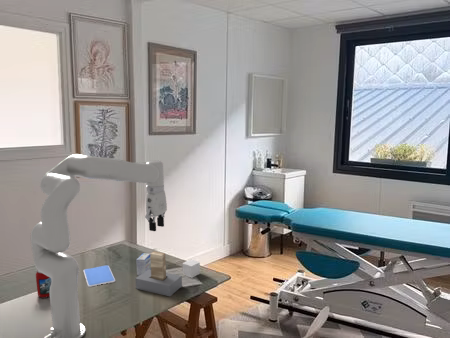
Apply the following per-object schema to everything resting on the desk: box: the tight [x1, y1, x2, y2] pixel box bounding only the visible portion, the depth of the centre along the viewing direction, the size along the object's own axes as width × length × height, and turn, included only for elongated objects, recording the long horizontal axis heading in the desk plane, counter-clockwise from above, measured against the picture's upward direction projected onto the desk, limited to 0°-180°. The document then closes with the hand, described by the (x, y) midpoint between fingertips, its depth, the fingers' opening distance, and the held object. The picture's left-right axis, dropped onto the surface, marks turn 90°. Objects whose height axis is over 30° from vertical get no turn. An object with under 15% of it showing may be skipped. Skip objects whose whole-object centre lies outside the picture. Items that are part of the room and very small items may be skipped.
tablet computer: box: [83, 264, 116, 288], centre depth 201 cm, size 19×13×1 cm, turn 25°
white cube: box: [181, 259, 201, 279], centre depth 202 cm, size 6×6×6 cm
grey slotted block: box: [135, 269, 183, 297], centre depth 189 cm, size 10×18×5 cm, turn 66°
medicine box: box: [135, 252, 151, 277], centre depth 203 cm, size 8×4×9 cm, turn 168°
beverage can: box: [35, 269, 52, 299], centre depth 182 cm, size 7×7×12 cm
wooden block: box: [149, 250, 167, 281], centre depth 187 cm, size 3×6×12 cm, turn 66°
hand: (156, 228), depth 184 cm, fingers open, 5 cm apart
